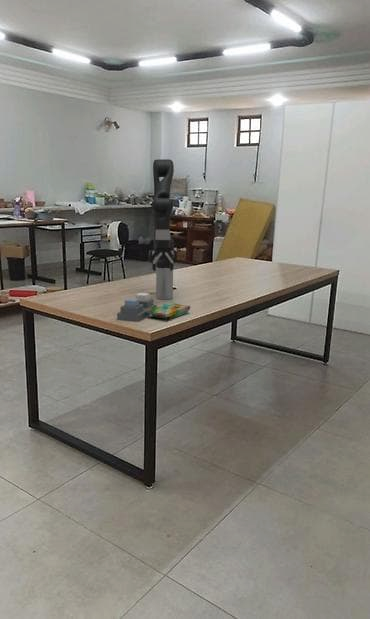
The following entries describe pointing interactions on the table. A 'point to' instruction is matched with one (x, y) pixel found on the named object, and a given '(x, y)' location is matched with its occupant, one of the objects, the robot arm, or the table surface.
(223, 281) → the table surface
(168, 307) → the puzzle game
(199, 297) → the table surface
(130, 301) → the blue key
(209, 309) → the table surface
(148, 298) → the white key
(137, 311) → the grey plastic block
